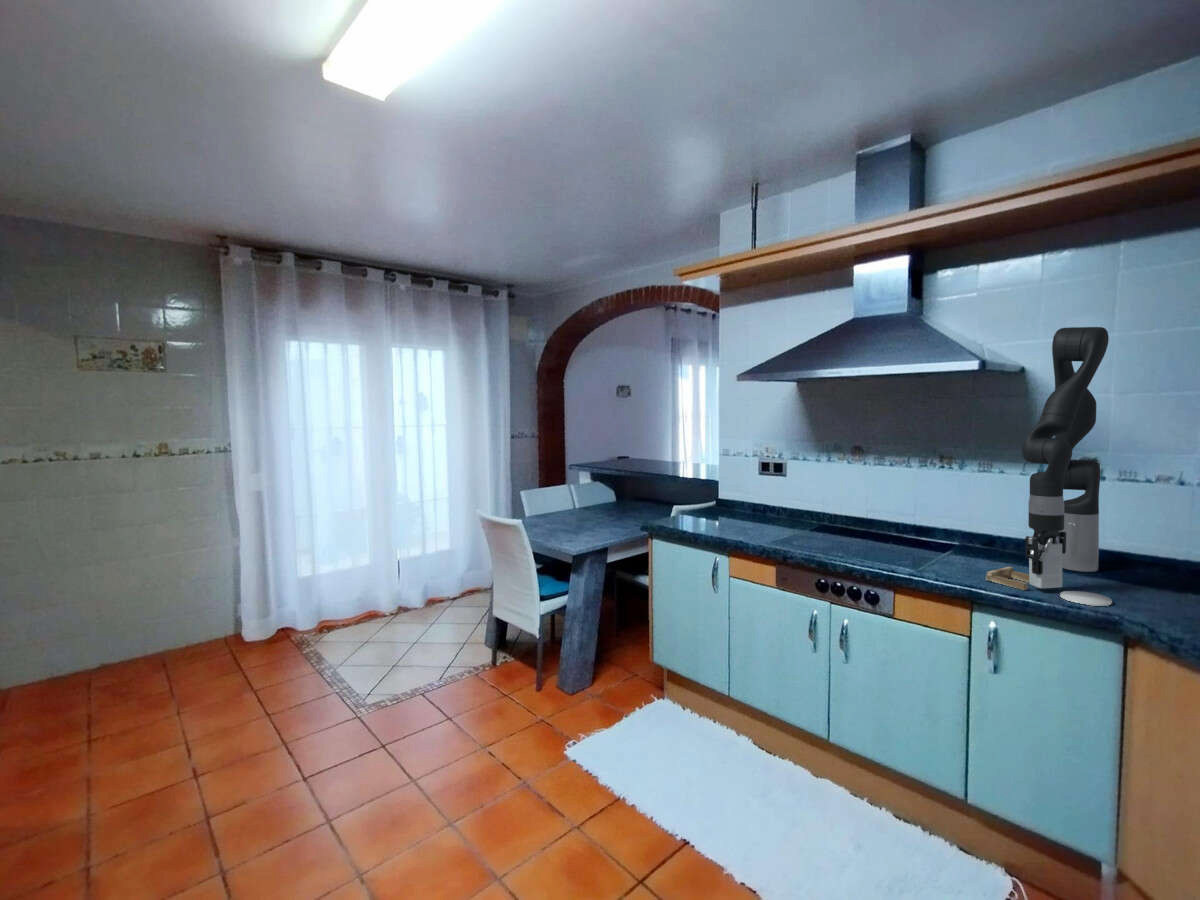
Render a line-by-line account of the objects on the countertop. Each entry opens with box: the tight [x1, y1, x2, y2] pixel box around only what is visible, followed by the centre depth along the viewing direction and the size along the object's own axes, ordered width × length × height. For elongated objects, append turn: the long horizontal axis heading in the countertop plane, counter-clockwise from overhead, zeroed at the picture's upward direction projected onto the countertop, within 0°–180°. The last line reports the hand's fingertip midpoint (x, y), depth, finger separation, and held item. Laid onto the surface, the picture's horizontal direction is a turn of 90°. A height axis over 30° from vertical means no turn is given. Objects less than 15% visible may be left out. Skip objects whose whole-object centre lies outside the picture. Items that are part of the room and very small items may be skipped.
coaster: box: [1059, 590, 1113, 607], centre depth 141 cm, size 10×10×1 cm
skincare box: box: [1028, 543, 1063, 589], centre depth 149 cm, size 6×4×12 cm
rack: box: [985, 566, 1029, 591], centre depth 156 cm, size 10×10×3 cm
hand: (1045, 571), depth 149 cm, fingers closed on skincare box, 7 cm apart
